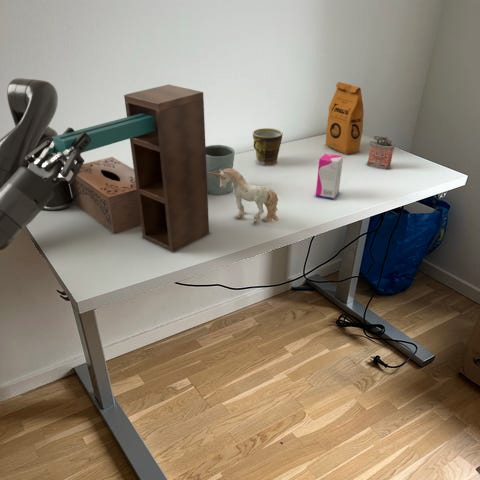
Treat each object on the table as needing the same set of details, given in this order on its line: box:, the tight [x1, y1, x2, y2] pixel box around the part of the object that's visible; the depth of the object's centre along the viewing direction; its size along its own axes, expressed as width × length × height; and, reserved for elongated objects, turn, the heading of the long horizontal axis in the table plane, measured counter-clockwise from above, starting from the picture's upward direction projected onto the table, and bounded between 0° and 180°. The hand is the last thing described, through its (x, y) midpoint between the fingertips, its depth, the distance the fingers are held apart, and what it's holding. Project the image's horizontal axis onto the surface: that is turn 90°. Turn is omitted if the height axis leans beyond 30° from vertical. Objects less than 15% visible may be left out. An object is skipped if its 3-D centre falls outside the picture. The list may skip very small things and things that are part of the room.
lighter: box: [366, 134, 395, 170], centre depth 165 cm, size 8×3×10 cm, turn 58°
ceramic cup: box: [252, 127, 283, 167], centre depth 167 cm, size 13×10×10 cm
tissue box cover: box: [69, 156, 141, 234], centre depth 137 cm, size 26×14×10 cm, turn 39°
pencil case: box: [53, 113, 155, 158], centre depth 100 cm, size 22×4×3 cm, turn 139°
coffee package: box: [324, 81, 364, 156], centre depth 175 cm, size 10×12×22 cm
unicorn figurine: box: [207, 168, 280, 225], centre depth 132 cm, size 7×20×13 cm, turn 74°
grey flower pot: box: [206, 144, 236, 196], centre depth 148 cm, size 10×10×12 cm
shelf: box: [123, 84, 210, 253], centre depth 117 cm, size 13×11×34 cm
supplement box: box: [315, 153, 344, 200], centre depth 145 cm, size 6×6×12 cm
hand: (80, 133), depth 96 cm, fingers closed on pencil case, 4 cm apart
